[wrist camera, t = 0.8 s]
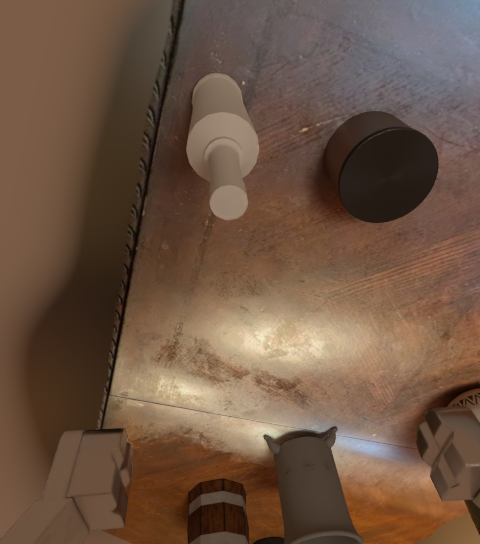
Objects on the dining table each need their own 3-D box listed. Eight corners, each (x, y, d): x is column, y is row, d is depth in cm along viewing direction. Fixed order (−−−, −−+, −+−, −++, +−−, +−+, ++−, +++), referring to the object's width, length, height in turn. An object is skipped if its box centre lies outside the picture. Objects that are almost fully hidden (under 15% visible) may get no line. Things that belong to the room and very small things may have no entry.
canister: (309, 139, 44) (324, 161, 39) (396, 91, 42) (426, 107, 37) (340, 209, 50) (357, 237, 44) (418, 171, 48) (447, 195, 42)
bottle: (185, 112, 42) (167, 227, 22) (202, 61, 39) (199, 139, 19) (230, 130, 43) (252, 255, 23) (249, 83, 41) (294, 177, 20)
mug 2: (247, 454, 82) (261, 606, 62) (281, 413, 74) (309, 572, 54) (323, 468, 88) (358, 612, 67) (361, 432, 80) (414, 581, 60)
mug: (192, 477, 86) (190, 558, 74) (252, 479, 88) (260, 558, 76) (181, 518, 97) (177, 594, 85) (235, 519, 99) (239, 593, 87)
